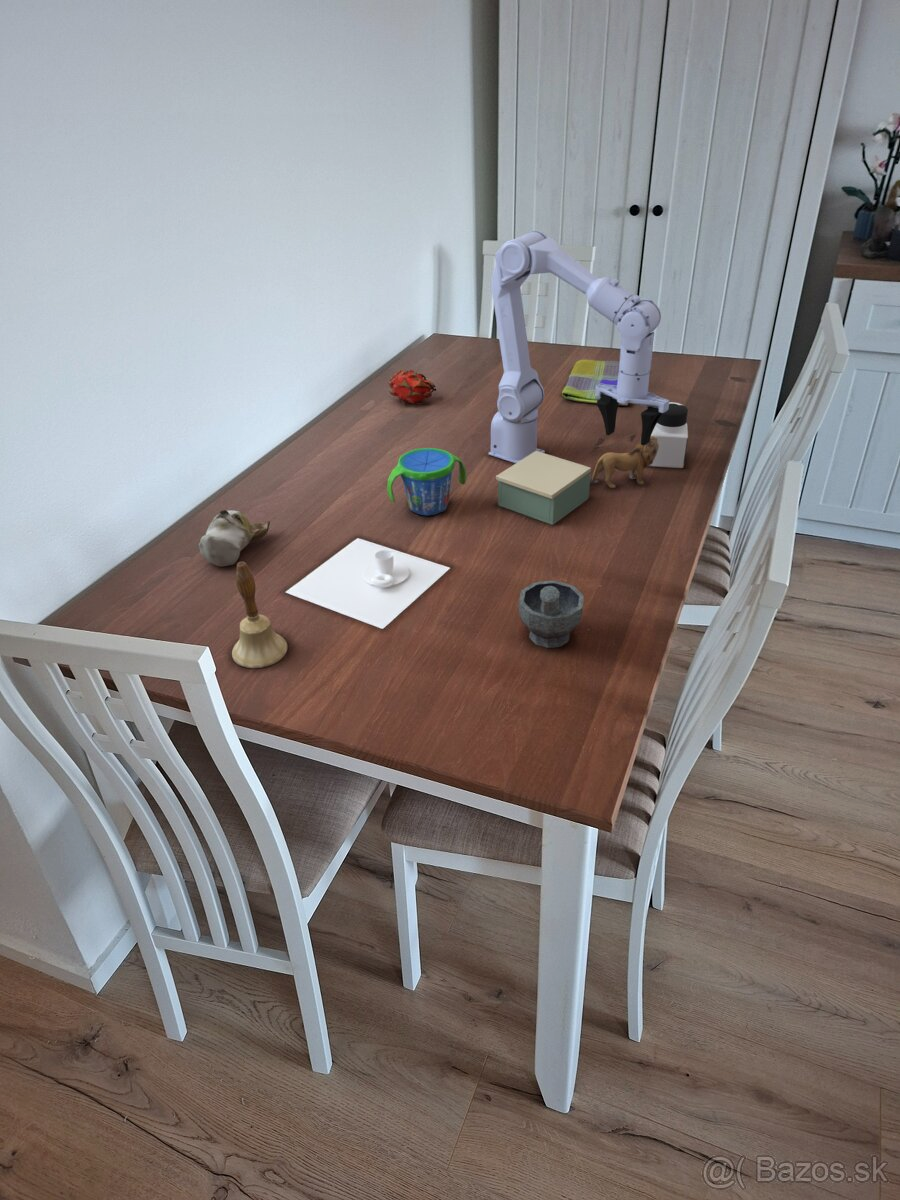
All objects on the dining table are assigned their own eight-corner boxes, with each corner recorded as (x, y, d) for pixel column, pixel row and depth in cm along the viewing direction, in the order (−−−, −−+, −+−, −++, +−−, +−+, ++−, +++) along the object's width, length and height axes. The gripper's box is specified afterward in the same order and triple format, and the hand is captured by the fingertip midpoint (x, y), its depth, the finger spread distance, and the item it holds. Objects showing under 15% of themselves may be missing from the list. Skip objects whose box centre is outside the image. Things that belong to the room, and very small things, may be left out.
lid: (551, 499, 153) (552, 495, 152) (495, 479, 159) (495, 476, 159) (590, 471, 161) (591, 467, 160) (535, 454, 167) (536, 450, 167)
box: (552, 525, 156) (554, 497, 153) (497, 505, 163) (498, 478, 160) (588, 498, 164) (590, 471, 161) (534, 480, 171) (535, 454, 167)
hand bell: (285, 666, 125) (269, 577, 116) (228, 670, 125) (208, 581, 115) (289, 632, 132) (274, 545, 122) (235, 636, 131) (216, 548, 122)
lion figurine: (646, 470, 173) (651, 429, 168) (660, 481, 169) (666, 440, 164) (582, 483, 169) (585, 441, 164) (594, 495, 165) (598, 452, 160)
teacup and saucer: (389, 595, 139) (387, 575, 137) (350, 582, 143) (348, 562, 140) (418, 570, 145) (417, 550, 143) (380, 558, 149) (379, 538, 146)
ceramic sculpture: (177, 526, 142) (213, 489, 154) (186, 571, 146) (220, 531, 159) (237, 531, 140) (269, 493, 152) (244, 576, 145) (275, 536, 157)
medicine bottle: (683, 469, 173) (691, 413, 166) (648, 466, 175) (654, 411, 168) (682, 453, 179) (690, 400, 172) (648, 451, 180) (654, 398, 173)
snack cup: (396, 528, 157) (393, 479, 151) (381, 502, 165) (378, 454, 159) (475, 513, 161) (475, 464, 155) (457, 488, 169) (456, 441, 163)
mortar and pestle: (522, 613, 134) (524, 549, 127) (582, 618, 133) (587, 554, 126) (514, 658, 125) (515, 591, 118) (578, 664, 124) (583, 597, 117)
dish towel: (557, 401, 204) (557, 390, 202) (575, 366, 223) (576, 355, 221) (630, 408, 199) (631, 396, 198) (642, 371, 218) (644, 361, 217)
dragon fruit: (387, 404, 209) (433, 415, 207) (379, 395, 201) (427, 406, 199) (396, 370, 209) (442, 381, 207) (388, 360, 200) (436, 371, 199)
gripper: (589, 368, 158) (584, 436, 166) (659, 385, 150) (651, 455, 158) (608, 357, 162) (602, 424, 170) (678, 373, 155) (668, 442, 162)
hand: (627, 438), depth 164 cm, fingers open, 7 cm apart
